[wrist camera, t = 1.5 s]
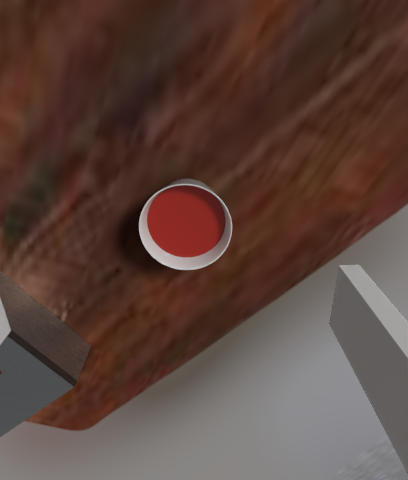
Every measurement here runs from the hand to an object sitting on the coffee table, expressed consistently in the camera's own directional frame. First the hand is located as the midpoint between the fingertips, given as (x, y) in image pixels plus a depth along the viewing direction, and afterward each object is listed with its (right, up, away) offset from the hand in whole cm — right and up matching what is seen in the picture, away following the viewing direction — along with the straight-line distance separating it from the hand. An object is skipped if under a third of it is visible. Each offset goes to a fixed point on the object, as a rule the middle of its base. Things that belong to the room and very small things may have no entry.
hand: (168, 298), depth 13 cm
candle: (0, +6, +26) cm, 27 cm away
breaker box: (-25, -10, +33) cm, 42 cm away
